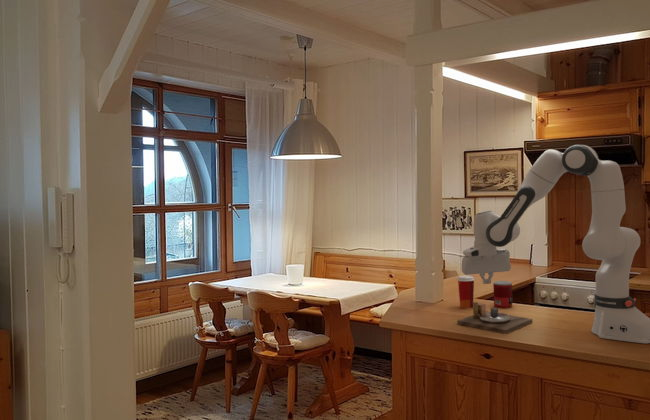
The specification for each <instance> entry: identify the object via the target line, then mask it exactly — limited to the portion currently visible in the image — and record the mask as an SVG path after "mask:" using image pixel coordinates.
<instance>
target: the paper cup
mask: <svg viewBox="0 0 650 420" xmlns="http://www.w3.org/2000/svg"><path fill="white" fill-rule="evenodd" d="M456 280H457V284H458V296H459V306H460V308H461V309H464V308H470V309H473V302H474V291H475V289H474V287H475V277H474V276H473V275H466V274H464V275H458V277H457V279H456Z"/></svg>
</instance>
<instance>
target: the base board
mask: <svg viewBox="0 0 650 420" xmlns="http://www.w3.org/2000/svg"><path fill="white" fill-rule="evenodd" d="M478 303H479V302H478V301H473V308H472V313H473V314H472V315H469V316H466V317H463V318H461V319H458V320H457V321H456V322H457V324H456V325H460V326H466V327H470V328H475V329H480V330H484V331H490V332H494V333H500V334H505V335H507V334H509V333H513V331H516V330H519V329H521V328H523V327H526V326H529V325H531V324H532V323H533V318H528V317H524V316H516V315H511V314H508V315H509V316H510V321H508V322H504V323H488V322H483V321H481V320H480V319H479V314H478ZM486 313H491V311H487V310H486Z"/></svg>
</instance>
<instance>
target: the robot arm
mask: <svg viewBox="0 0 650 420" xmlns="http://www.w3.org/2000/svg"><path fill="white" fill-rule="evenodd" d="M567 172H568V173H571V174H574V175H579V176H584V177H587V178H588V180H589V184H590V194H591V195H590V196H591V211H592V212H591V219H590V224H589V227H588V228H589V229H588V231H587V233H586V235H585V236H584V238H583V240H582V242H581V243H582V245H581V248H582V250H583V253H584V254H585V255H586V256H587V257H588V258H590V259H593V260H597V261H601V263H600V266H599V267H598V269H597V271H596V273H595V293H594V297H593V298H594V299H593V300H594V301H593V302H594V303H593V304H594V309H595V310H594V319H593V324H592V328H591V330H590V331H591V333H592V334H594V335H596V336H597V337H598V338H600V339H606V340H613V341H621V342H628V343H629V342H630V343H638V344H650V317H649V316H647V315H646V314H644V313H643V311H641V310H640V309H638V308H637V307H636V306H635V303H636V300H637V297H636V298H633V297H631V296H630V274H631V272H630V271H631V267H632V263H633V260H634V257H635V254H636V252H637V250H639V248H640V246H641V237H640V234H639V233H638V232H637V231H636V230H635V229H633V228H630V227H624V226H621V222H622V219H623V216H624V214H625V213H626V210H627V207H626V195H625V184H624V183H625V182H624V178H623V173H622V170H621V166H620V165H619V164H618V163H617V162H616V161H613V160H609V159H608V160H602V159H600V156H599V153H598V152H597V151H596V149H594V148H592V147H591V146H589V145H585V144H574V145H570V146H569V147H568V148H566V149H565V151H564V152H561V151H559V150H557V149H552V148H551V149H550V148H549V149H546V150H545V151H544V152H543V153H541V155H540V156H539V157H538V158H537V159H536V161H535V162H534V163H533V165H532V166H531V167H530V169H529V170H528V172H526V175H525V176H524V179H523V180H522V182H521V184H520V186H519V188H518V190H517V192H516V193H515V196H514V197H513V199H512V200H511V202H510V203H509V205H507V206H506V209H505V210H504V211H503V212H502V214H501V215H498V214H497V213H495V212H494V211H493V210H487V211H482V212H478V213H476V214H475V215H474V217H473V228H472V229H473V236H474V242H473V246H472V247H471V246H470V247H468V248H466V249H464V250H463V251H462V254H463V257H462V259H461V272H462V273H463V274H464V275H468V276H470V275H479V277H480V278H481V279H482V284H483V285H487V284H492V279H493V277H494V273H502V272H510V271H511V269H512V268H511V261H510V260H511V259H510V257H511V256H510V255H511V254H510V251H509V250H508V249H506V248H503V247H505V246H507V245H508V244H510V243H512V242H513V241H515V240H516V239H518V237H520V233H521V228H520V226H519V223H518V222H519V221H520V219H521V218H522V216H523V215H524V213H525V212H526V211H527V210H528V208H530V207H532V205H534V204H535V203H537V202H538V201H540V200H542V199H544V198H545V197H547V195H548V194H549V193H550V192H551V191H552V189H553V188H554V186H555V185H556V184H557V183H558V181H559V180H560V178H561V177H562V176H563V174H565V173H567ZM497 247H498V248H499V249H497ZM500 247H502V249H500ZM486 274H487V275H488V277H487V278H485V275H486Z"/></svg>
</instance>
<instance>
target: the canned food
mask: <svg viewBox="0 0 650 420" xmlns="http://www.w3.org/2000/svg"><path fill="white" fill-rule="evenodd" d="M492 283H493V305H494V308H498V309H510V308H512V307H513V283H512V281H508V280H497V281H495V280H494V281H493V282H492Z"/></svg>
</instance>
